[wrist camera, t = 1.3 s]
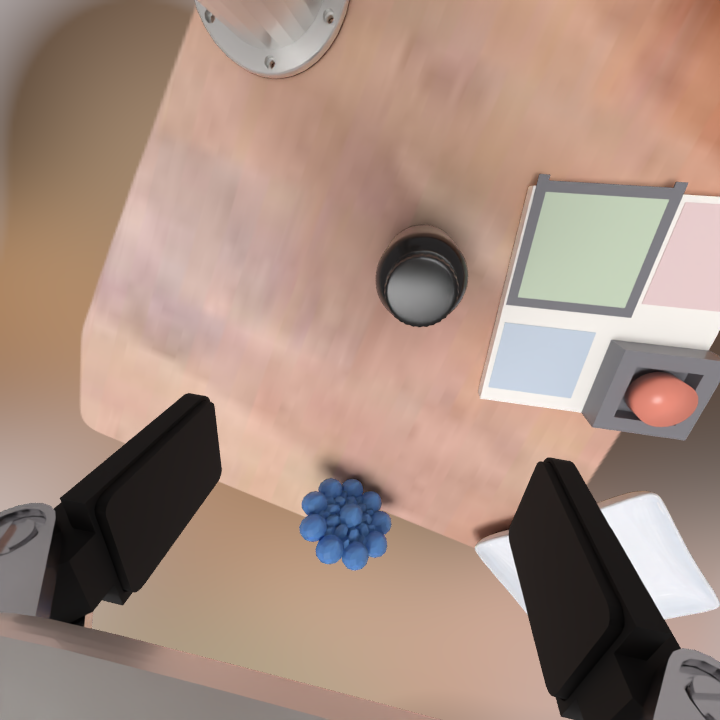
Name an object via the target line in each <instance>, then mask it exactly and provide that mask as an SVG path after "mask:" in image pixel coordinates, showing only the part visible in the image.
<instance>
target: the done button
mask: <svg viewBox="0 0 720 720" xmlns="http://www.w3.org/2000/svg"><path fill="white" fill-rule="evenodd" d="M625 403H626V405H627V406H628V408H629V409H630V410H631V411H632V412H633V413H634V414H635V415H636V416H637V417H638V418H639V419H640V420H642V421H643V422H644V423H646V424H648V425H650V426H654V427H668V426H672V425H676V424H678V423H680V422H682V421H684V420H686V419H687V418H688V417H690V416H691V415H692V414H693V412H694V411H695V409H696V408H697V405H698V395H697V393H696V391H695V390H694V389H693V388H692V387H690V386H689V385H687V384H686V383H684V382H683V381H681V380H680V379H678V378H677V377H676V376H674V375H672V374H670V373H666V372H652V373H648V374H645V375H642V376H640V377H639V378H637V379H636V380H634V381H633V382H632V383H631V384H630V385H629V386H628V388H627V390H626V392H625Z"/></svg>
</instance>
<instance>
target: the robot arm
mask: <svg viewBox="0 0 720 720" xmlns="http://www.w3.org/2000/svg"><path fill="white" fill-rule="evenodd" d="M194 1H195V5H196V8H197V11H198V13H199V15H200V17H201V19H202V22H203V24H204V26H205V28H206V30H207V31H208V33H209V34H210V36H211V37H212V39H213V40H214V42H215V43H216V44H217V46H218V47H219V48H220V49H221V50H222V51H223V52H224V53H225V54H226V55H227V56H228V57H229V58H230V59H231V60H233V61H234V62H235V63H236V64H238V65H239V66H241V67H242V68H244V69H246V70H247V71H249V72H251V73H253V74H256V75H259V76H262V77H267V78H284V77H290V76H293V75H296V74H298V73H300V72H303V71H305V70H306V69H308V68H309V67H310V66H312V65H313V64H314V63H316V62H317V61H318V60H319V59H320V58H321V57H322V56H323V54H324V53H325V52H326V51H327V50H328V49H329V47H330V46H331V44H332V42H333V41H334V39H335V38H336V36H337V34H338V32H339V30H340V27H341V25H342V23H343V20H344V18H345V15H346V12H347V8H348V4H349V0H194ZM330 18H334V20H333V22H332V23H330V24H329V23H328V22H329V20H330ZM214 19H215V20H214ZM274 62H275V66H274V67H273V68H272V67H271V66H272V64H273V63H274ZM221 471H222V468H221V459H220V450H219V442H218V433H217V424H216V416H215V407H214V404H213V403H212V402H210V399H209V398H208V397H206V396H202V395H196V394H191V393H188V394H185V395H184V396H182V397H181V398H180V399H179V400H178V401H176V402H175V403H174V404H173V405H172V406H170V407H169V408H168V409H167V410H166V411H164V412H163V413H162V414H161V415H159V416H158V417H157V418H156V419H155V420H153V421H152V422H151V423H150V424H149V425H147V426H146V427H145V428H144V429H143V430H141V431H140V432H139V433H138V434H137V435H135V436H134V437H133V438H132V439H131V440H129V441H128V442H127V443H126V444H125V445H123V446H122V447H121V448H120V449H119V450H118V451H116V452H115V453H114V454H113V455H111V456H110V457H109V458H108V459H107V460H105V461H104V462H103V463H102V464H100V465H99V466H98V467H97V468H96V469H94V470H93V471H92V472H91V473H90V474H88V475H87V476H86V477H85V478H84V479H82V480H81V481H80V482H79V483H78V484H76V485H75V486H74V487H73V488H72V489H71V490H69V491H68V492H67V493H66V494H64V495H63V496H62V497H61V498H60V500H61V503H60V504H59V505H58V506H56V507H55V508H54V509H53V508H52V507H51V506H50V505H47V504H44V503H29V504H24V505H18V506H15V507H13V508H10V509H7V510H4V511H2V512H0V720H441V719H437V718H433V717H429V716H426V715H422V714H418V713H415V712H411V711H407V710H403V709H400V708H396V707H392V706H389V705H385V704H381V703H377V702H374V701H370V700H366V699H362V698H359V697H355V696H351V695H347V694H343V693H340V692H336V691H332V690H328V689H324V688H321V687H317V686H313V685H309V684H306V683H302V682H298V681H294V680H290V679H286V678H283V677H279V676H275V675H271V674H267V673H264V672H259V671H256V670H252V669H248V668H244V667H241V666H237V665H233V664H229V663H226V662H222V661H218V660H214V659H210V658H206V657H202V656H198V655H194V654H190V653H187V652H183V651H179V650H175V649H171V648H167V647H163V646H159V645H156V644H152V643H148V642H144V641H140V640H136V639H132V638H128V637H124V636H120V635H116V634H112V633H107V632H103V631H99V630H95V629H92V621H93V611H94V609H95V608H96V607H97V606H98V604H99V603H100V602H101V600H104V601H107V602H111V603H115V604H119V605H124V603H125V602H126V601H127V599H128V598H129V596H130V595H131V594H132V592H137V591H138V590H140V589H141V588H142V586H143V585H144V584H145V583H146V581H147V580H148V579H149V577H150V576H151V574H152V573H153V572H154V570H155V569H156V567H157V566H158V565H159V563H160V562H161V560H162V559H163V558H164V556H165V555H166V553H167V552H168V551H169V549H170V547H171V546H172V545H173V544H174V542H175V541H176V539H177V538H178V537H179V535H180V534H181V532H182V531H183V530H184V528H185V527H186V526H187V524H188V523H189V521H190V520H191V519H192V517H193V516H194V514H195V513H196V511H197V510H198V509H199V507H200V506H201V505H202V503H203V502H204V500H205V499H206V498H207V496H208V495H209V493H210V492H211V491H212V489H213V488H214V486H215V485H216V484H217V482H218V481H219V479H220V476H221ZM509 543H510V547H511V551H512V555H513V559H514V563H515V567H516V570H517V574H518V578H519V582H520V586H521V590H522V594H523V598H524V602H525V606H526V610H527V614H528V617H529V621H530V625H531V629H532V633H533V637H534V641H535V645H536V649H537V652H538V656H539V661H540V664H541V668H542V672H543V676H544V680H545V684H546V687H547V689H548V692H549V693H550V694H551V696H554V697H556V700H557V704H558V708H559V711H560V715H561V717H565V718H569V719H573V720H720V662H719V661H717V660H715V659H714V658H712V657H711V656H708V655H706V654H703V653H701V652H699V651H696V650H691V649H684V648H682V649H681V648H680V646H679V644H678V643H677V641H676V639H675V637H674V636H673V634H672V632H671V630H670V629H669V627H668V625H667V624H666V622H665V620H664V618H663V617H662V615H661V613H660V611H659V610H658V608H657V606H656V604H655V603H654V601H653V599H652V598H651V596H650V594H649V592H648V591H647V589H646V587H645V585H644V584H643V582H642V580H641V578H640V577H639V575H638V573H637V571H636V570H635V568H634V566H633V565H632V563H631V561H630V559H629V558H628V556H627V554H626V552H625V551H624V549H623V547H622V545H621V544H620V542H619V540H618V538H617V537H616V535H615V533H614V532H613V530H612V528H611V527H610V525H609V524H608V522H607V520H606V518H605V517H604V515H603V513H602V511H601V510H600V508H599V506H598V505H597V503H596V501H595V499H594V498H593V496H592V494H591V493H590V491H589V489H588V487H587V485H586V484H585V482H584V480H583V478H582V477H581V475H580V473H579V471H578V470H577V468H576V466H575V465H574V464H573V462H571V461H566V460H561V459H555V458H546V459H545V460H544V462H538V463H537V465H536V467H535V470H534V472H533V474H532V476H531V479H530V481H529V483H528V486H527V488H526V490H525V493H524V495H523V497H522V500H521V502H520V504H519V507H518V509H517V511H516V514H515V516H514V518H513V521H512V523H511V525H510V528H509Z"/></svg>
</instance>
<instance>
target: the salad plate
mask: <svg viewBox="0 0 720 720" xmlns="http://www.w3.org/2000/svg"><path fill="white" fill-rule="evenodd" d="M597 505H598V506H599V508H600V510H601V511H602V513H603V515H604V517H605V518H606V520H607V522H608V524H609V525H610V527H611V528H612V530H613V532H614V533H615V535H616V537H617V538H618V540H619V542H620V544H621V545H622V547H623V549H624V551H625V552H626V554H627V556H628V558H629V559H630V561H631V563H632V565H633V566H634V568H635V570H636V571H637V573H638V575H639V577H640V578H641V580H642V582H643V584H644V585H645V587H646V589H647V591H648V592H649V594H650V596H651V598H652V599H653V601H654V603H655V604H656V606H657V608H658V610H659V611H660V613H661V615H662V617H663V618H664V619H669V618H674V617H680V616H685V615H691V614H696V613H701V612H706V611H710V610H713V609H716V608H718V607H719V606H720V603H719V600H718V598H717V596H716V594H715V592H714V591H713V589H712V587H711V586H710V584H709V583H708V581H707V580H706V578H705V577H704V575H703V574H702V572H701V570H700V569H699V568H698V566H697V564H696V562H695V561H694V559H693V557H692V556H691V554H690V552H689V550H688V549H687V547H686V545H685V543H684V541H683V539H682V537H681V535H680V533H679V531H678V529H677V527H676V525H675V523H674V521H673V519H672V517H671V515H670V513H669V511H668V509H667V507H666V506H665V504H664V502H663V501H662V499H661V498H660V496H659V495H657V494H656V493H653V492H649V491H636V492H630V493H626V494H622V495H619V496H616V497H613V498H610V499H607V500H604V501H601V502H598V503H597ZM475 550H476V552H477V553H478V555H479V557H480V558H481V559H482V561H483V562H484V563H485V564H486V566H487V567H488V568H489V569H490V570H491V572H492V573H493V574H494V575H495V576H496V577H497V579H498V580H499V581H500V582H501V583H502V584H503V585H504V587H505V588H506V589H507V590H508V591H509V593H510V594H511V595H512V596H513V597H514V598H515V600H516V601H517V602H518V603H519V605H520V606H521V607H522V608H523V610H524V611H525V612H526V613H527V610H526V606H525V602H524V598H523V594H522V590H521V586H520V582H519V578H518V574H517V570H516V567H515V563H514V559H513V555H512V551H511V547H510V543H509V530H506V531H502V532H498V533H495V534H492V535H489V536H487V537H485V538H483V539H481V540H480V541H479V542H478V543H477V544H476V546H475ZM527 615H528V614H527Z"/></svg>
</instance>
